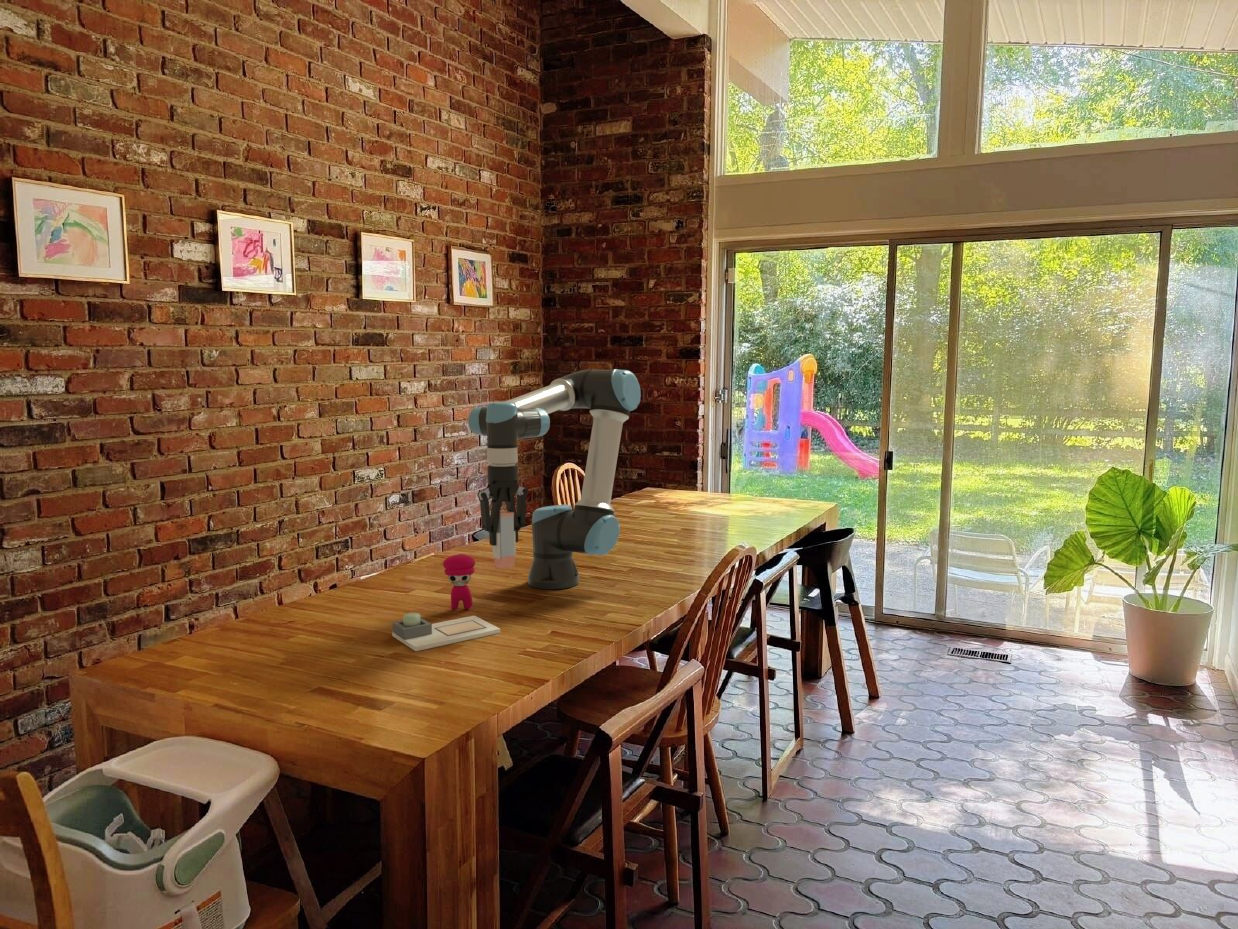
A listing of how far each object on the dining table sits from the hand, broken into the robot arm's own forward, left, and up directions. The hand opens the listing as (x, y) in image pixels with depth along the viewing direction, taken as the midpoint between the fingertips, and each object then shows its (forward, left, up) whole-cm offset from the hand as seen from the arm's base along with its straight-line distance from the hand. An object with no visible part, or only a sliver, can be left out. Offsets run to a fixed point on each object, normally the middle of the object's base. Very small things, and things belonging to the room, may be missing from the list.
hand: (504, 556), depth 222 cm
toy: (+4, -17, -17) cm, 25 cm away
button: (+24, -3, -15) cm, 28 cm away
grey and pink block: (0, 0, -3) cm, 3 cm away
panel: (+16, 0, -17) cm, 24 cm away
